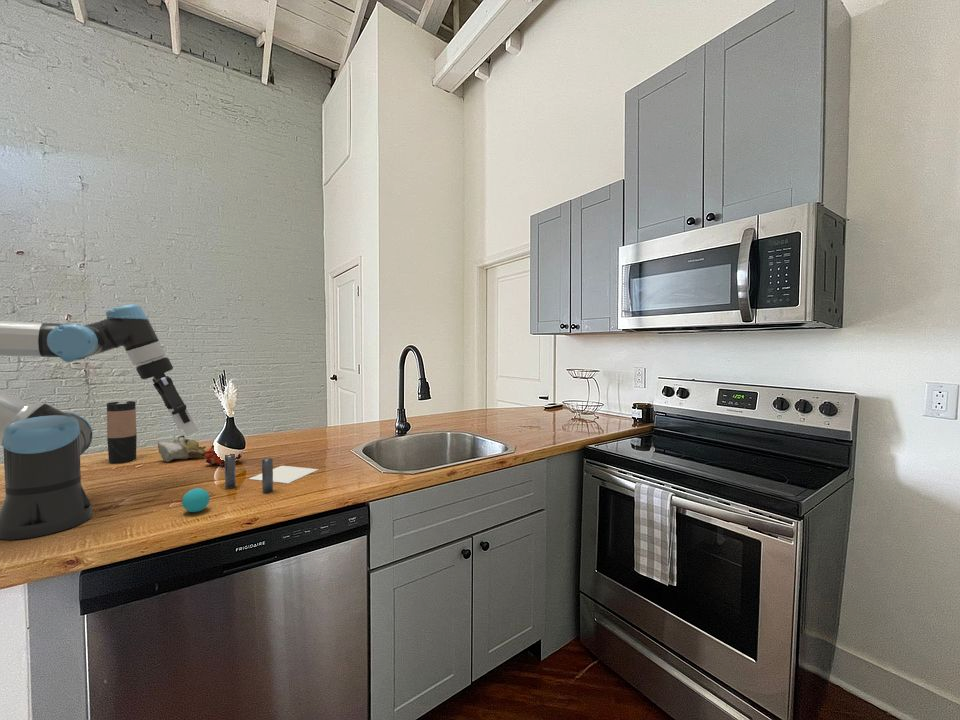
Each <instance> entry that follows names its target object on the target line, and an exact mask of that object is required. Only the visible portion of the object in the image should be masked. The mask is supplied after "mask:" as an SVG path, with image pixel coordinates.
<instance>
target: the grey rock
mask: <svg viewBox="0 0 960 720" xmlns="http://www.w3.org/2000/svg"><path fill="white" fill-rule="evenodd" d="M157 448H158V453H159V454H160V456H161V459H162V460H163V462H165V461H166V463H169V462H171V461H173V460H175V459H176V460H189V459H188V458H190V459H192V458H201V456H202V454H203V453H204V452H206V451H207V450H206V448H207V446H200V443H199V441H198V440H196V439H195V438H192V437H188V438H187V437H185V435H184V434H182V435H179V436H178V437H176V438H175V439H174V440H173V441H171V442H165V441H158V442H157Z"/></svg>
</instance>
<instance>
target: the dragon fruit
mask: <svg viewBox="0 0 960 720" xmlns="http://www.w3.org/2000/svg"><path fill="white" fill-rule="evenodd" d="M214 445H215V444H214ZM214 445H211V447H210V448H209V449H207V450H205V451H206V452H204V453H203V454H202V456H201V457H200V459H203V458H204V459H205V460H204V462H205V463H206V464H209V465H214V466H219V467H222V466H225V461H224V460H221V459H220V457H218V456H217V454H216V453H215V451H214ZM241 458H242V453H241V454H239V455H238V457H236V458H235V461H237V460H240V459H241Z"/></svg>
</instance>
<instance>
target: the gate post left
mask: <svg viewBox="0 0 960 720" xmlns="http://www.w3.org/2000/svg"><path fill="white" fill-rule="evenodd" d="M236 473H237V471H236V460H235V454H230V455H225V465H224V488H225V489H226V490H228V489H229V490H230V489H234V488H236V486H237V485H236V484H237V483H236V482H237V481H236V480H237V479H236V478H237V476H236Z"/></svg>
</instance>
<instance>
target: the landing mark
mask: <svg viewBox="0 0 960 720" xmlns="http://www.w3.org/2000/svg"><path fill="white" fill-rule="evenodd" d="M317 471H319V468H309V467H299V466H290V465H289V466H288V465H279V466H277V467H275V468H274V467H273V483H277V484H279V483H280V484H287V485H288V484H292V483H293V482H296V481H298V480H300V479H301V478H303V477H306V476H308V475H310V474H311V475H312V474H313V473H315V472H317ZM248 480H251V481H260V482H262V473H259V474H257V475H253V476H251V477H248Z"/></svg>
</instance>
